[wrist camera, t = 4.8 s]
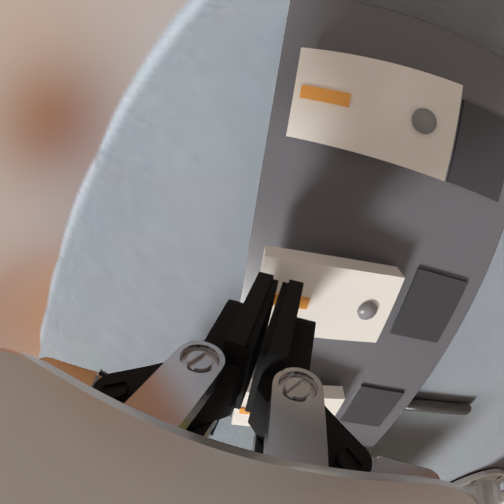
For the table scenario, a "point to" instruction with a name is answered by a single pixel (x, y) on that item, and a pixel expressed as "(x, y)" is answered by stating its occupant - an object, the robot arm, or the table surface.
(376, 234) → the power strip
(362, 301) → the rocker middle
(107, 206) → the table surface
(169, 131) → the table surface
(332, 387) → the rocker
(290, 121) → the plate
